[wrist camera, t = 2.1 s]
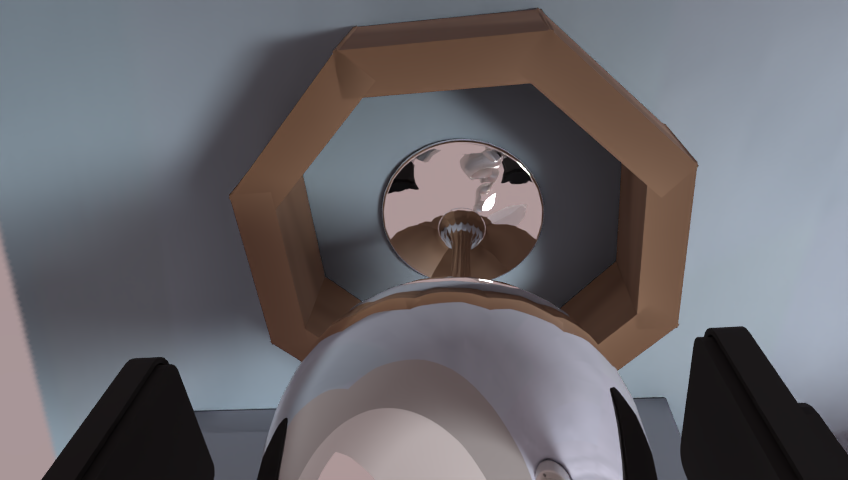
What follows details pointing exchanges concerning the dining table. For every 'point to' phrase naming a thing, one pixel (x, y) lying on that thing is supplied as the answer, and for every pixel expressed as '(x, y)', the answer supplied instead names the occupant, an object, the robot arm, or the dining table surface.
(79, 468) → the robot arm
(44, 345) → the dining table surface
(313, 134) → the collar
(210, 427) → the tray
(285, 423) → the wineglass
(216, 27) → the dining table surface
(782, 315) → the dining table surface
